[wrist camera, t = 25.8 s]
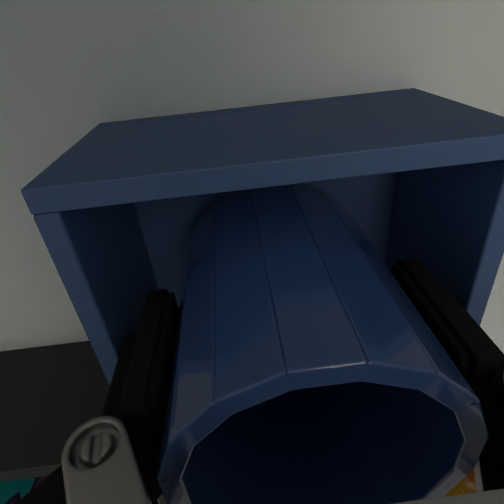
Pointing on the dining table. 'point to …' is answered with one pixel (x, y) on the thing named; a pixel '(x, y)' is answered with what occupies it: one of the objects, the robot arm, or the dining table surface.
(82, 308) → the blue bin
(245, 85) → the dining table surface
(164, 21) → the dining table surface
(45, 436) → the charcoal bin
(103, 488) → the robot arm
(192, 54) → the dining table surface
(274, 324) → the blue cup
